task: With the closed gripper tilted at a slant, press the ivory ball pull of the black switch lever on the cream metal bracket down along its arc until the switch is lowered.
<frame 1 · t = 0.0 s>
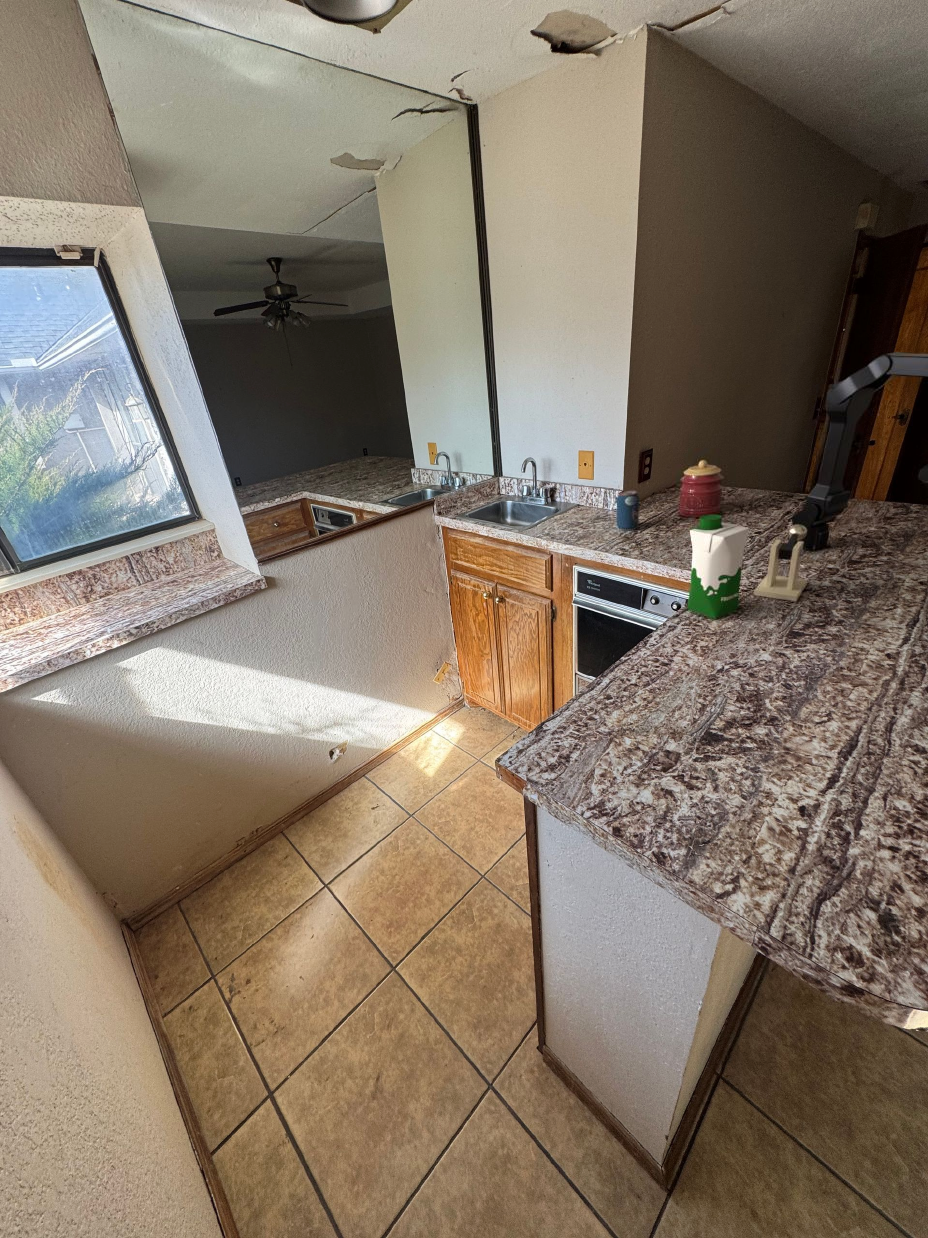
soda can: (627, 528, 162), on the countertop
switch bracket: (780, 589, 107), on the countertop
kitchen canister: (699, 513, 166), on the countertop
switch lever: (792, 541, 105), point 10 cm above the countertop, hinge at 10.0°
milk carton: (712, 610, 103), on the countertop
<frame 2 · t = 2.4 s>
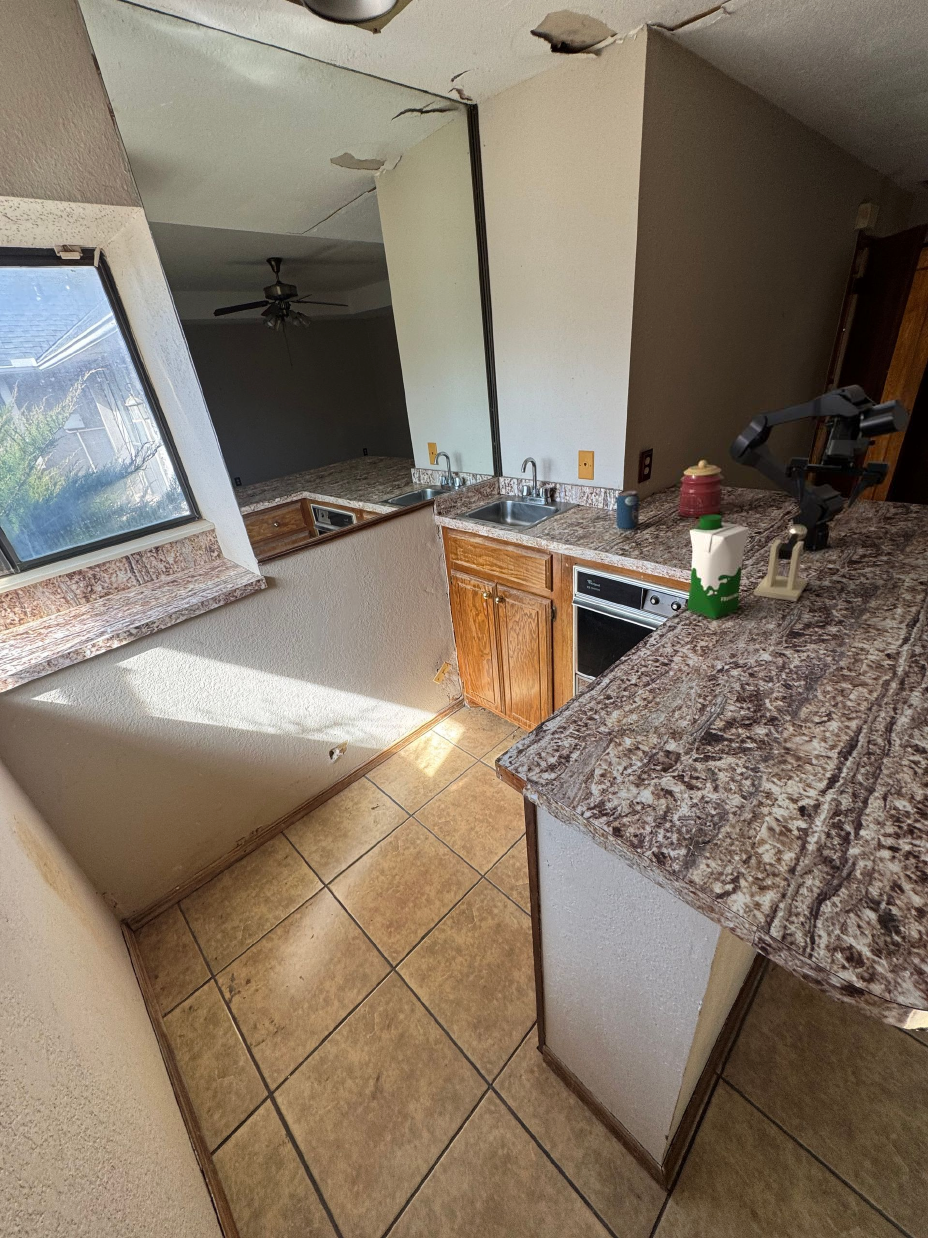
hand: (824, 504, 109), 15 cm above the countertop, tool tilted 40°, fingers open, 9 cm apart
nothing on the countertop moved.
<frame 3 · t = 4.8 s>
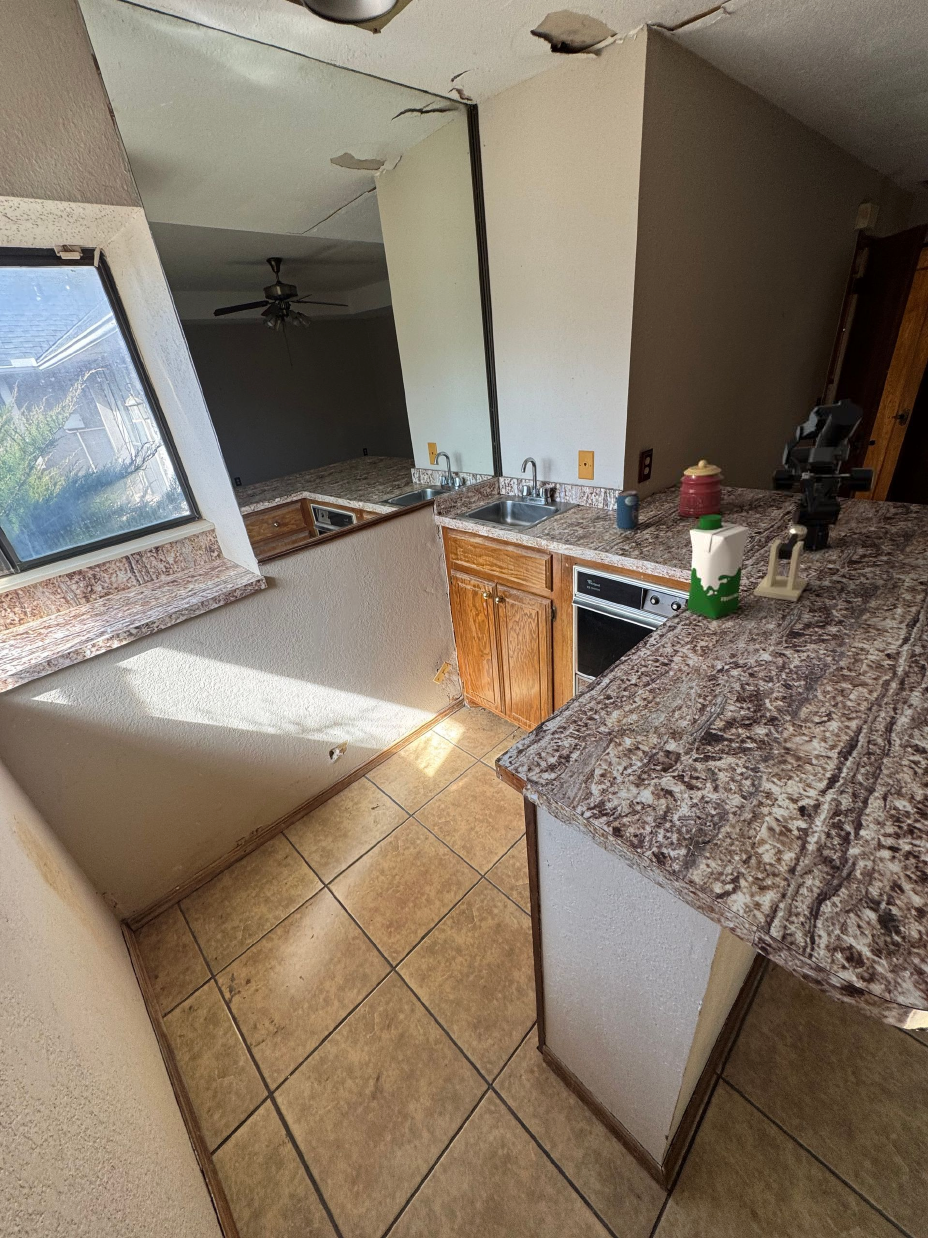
hand: (811, 512, 109), 14 cm above the countertop, tool tilted 45°, fingers closed
nothing on the countertop moved.
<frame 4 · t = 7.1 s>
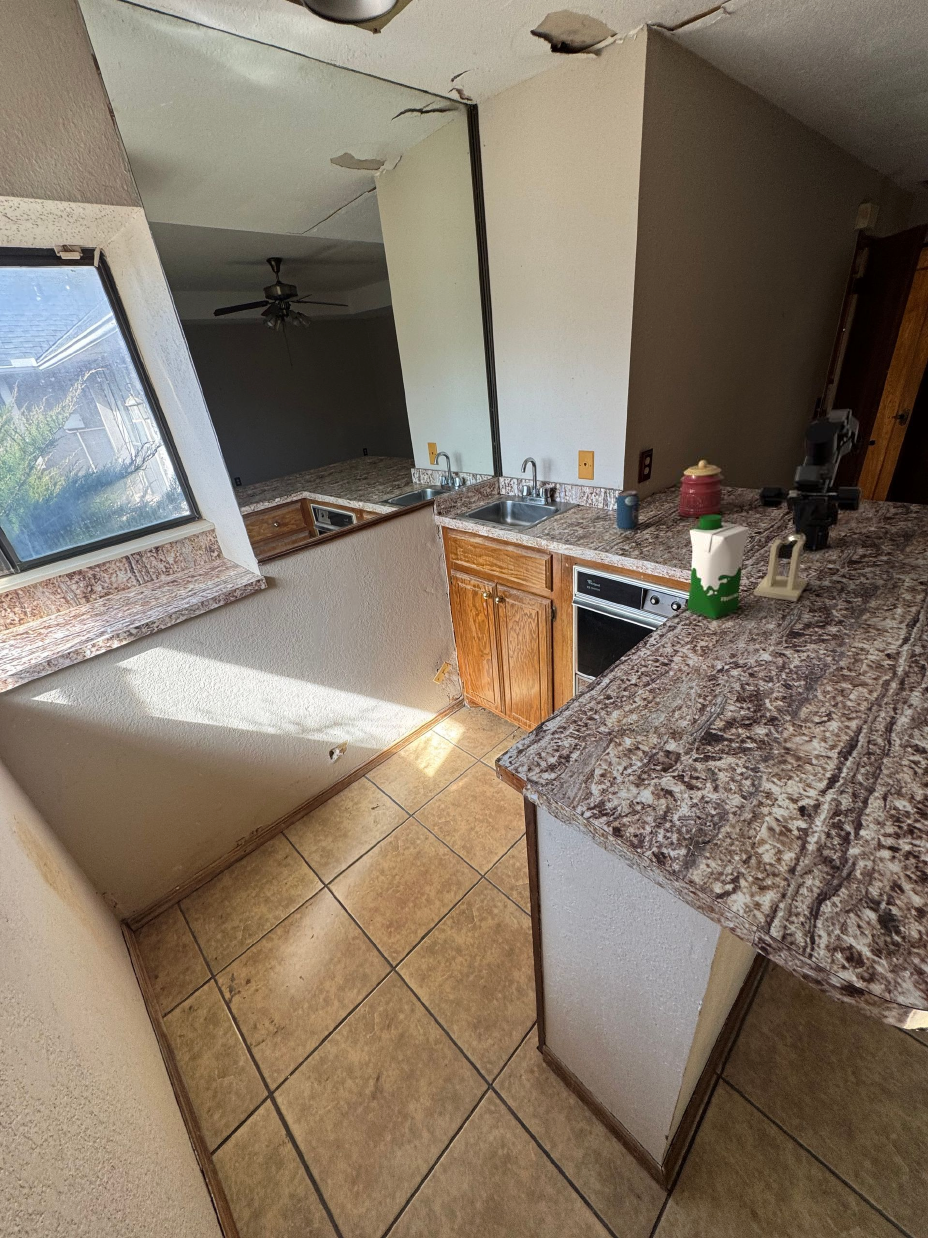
hand: (797, 531, 108), 11 cm above the countertop, tool tilted 45°, fingers closed
switch lever: (791, 545, 106), point 9 cm above the countertop, hinge at -1.5°, touching gripper
everything else where it was.
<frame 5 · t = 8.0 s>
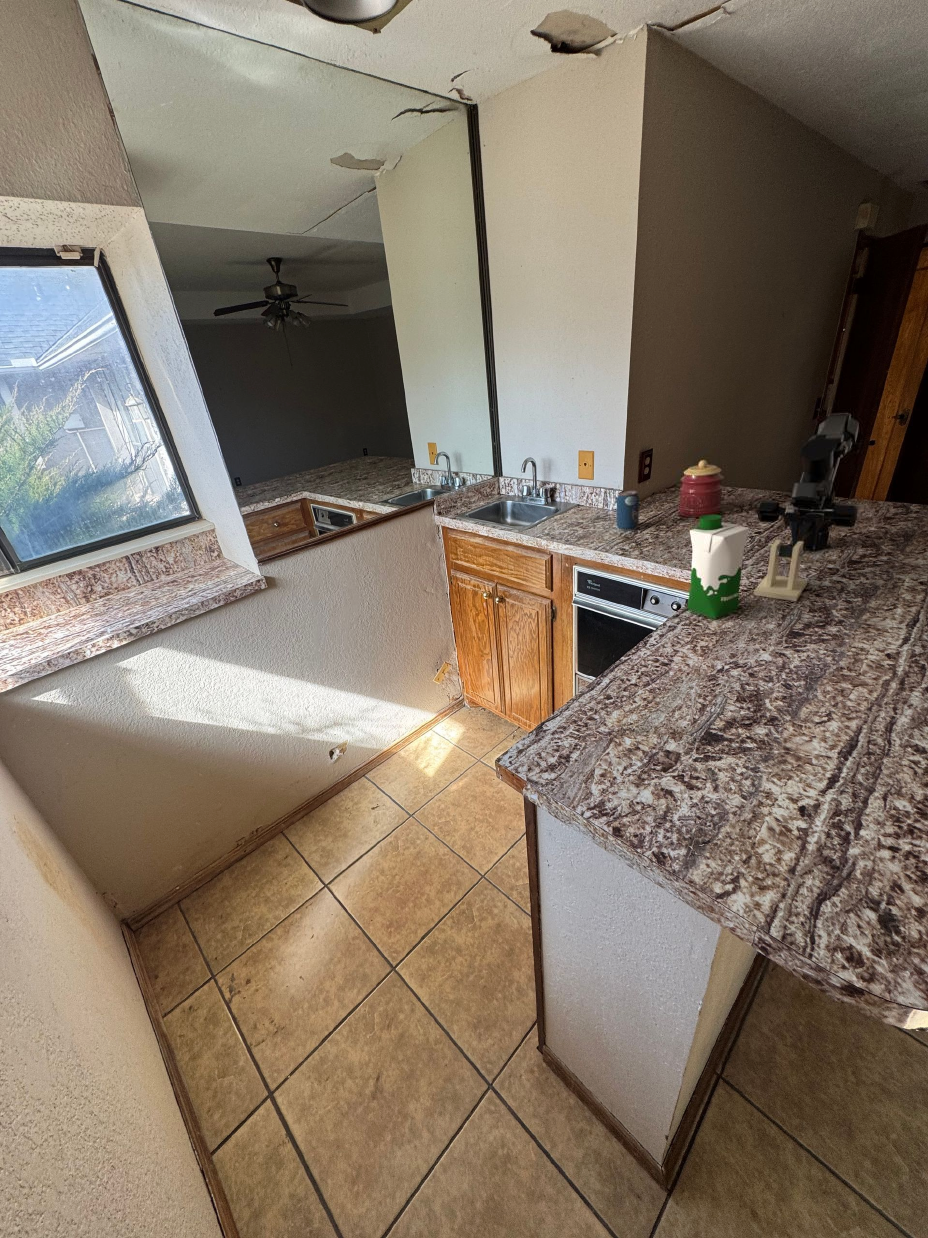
hand: (794, 546, 109), 7 cm above the countertop, tool tilted 45°, fingers closed, pressing on switch lever
switch lever: (789, 553, 106), point 7 cm above the countertop, hinge at -24.1°, touching gripper
everything else where it was.
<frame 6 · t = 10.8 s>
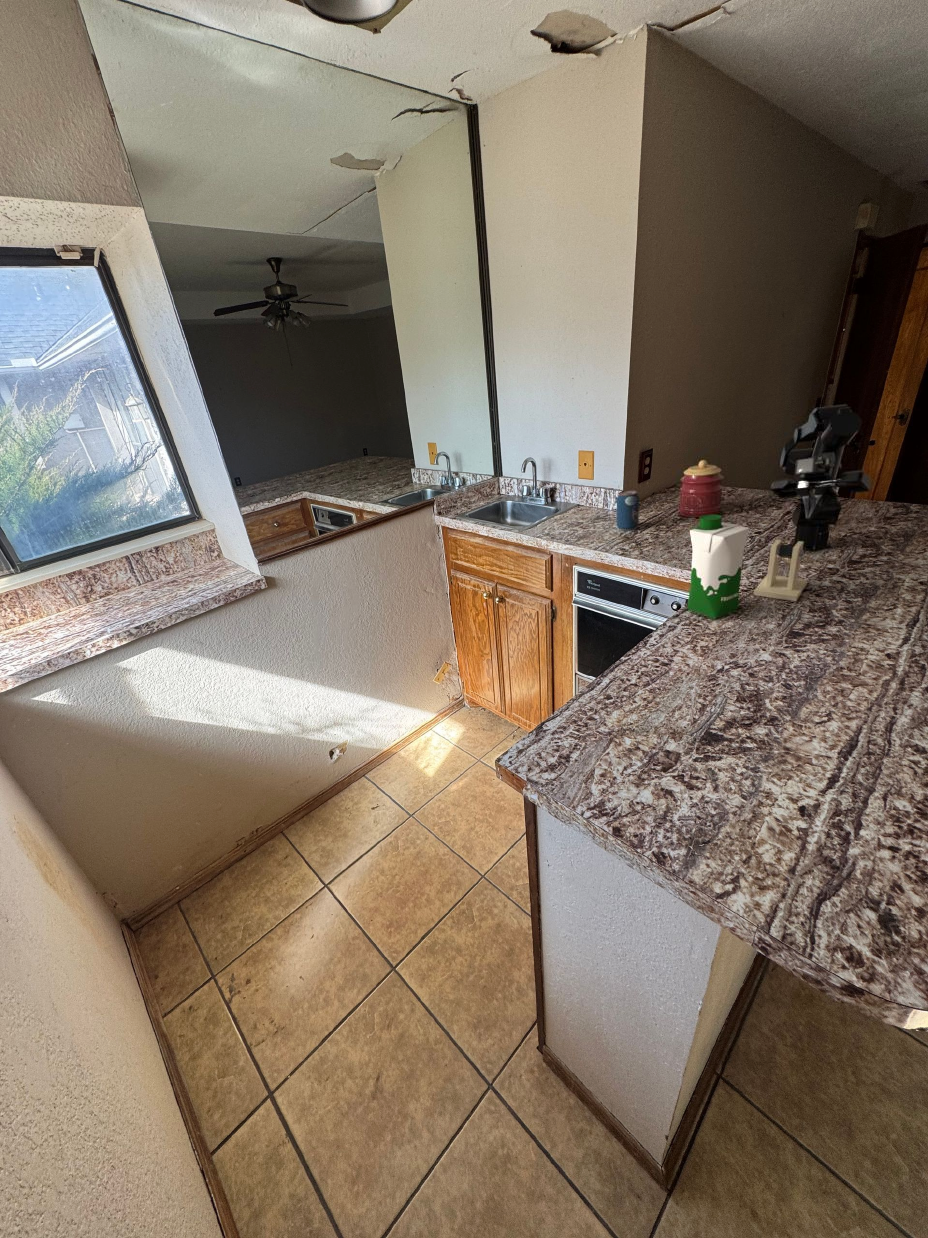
hand: (808, 519, 113), 11 cm above the countertop, tool tilted 35°, fingers closed
switch lever: (789, 554, 106), point 7 cm above the countertop, hinge at -27.8°
everything else where it was.
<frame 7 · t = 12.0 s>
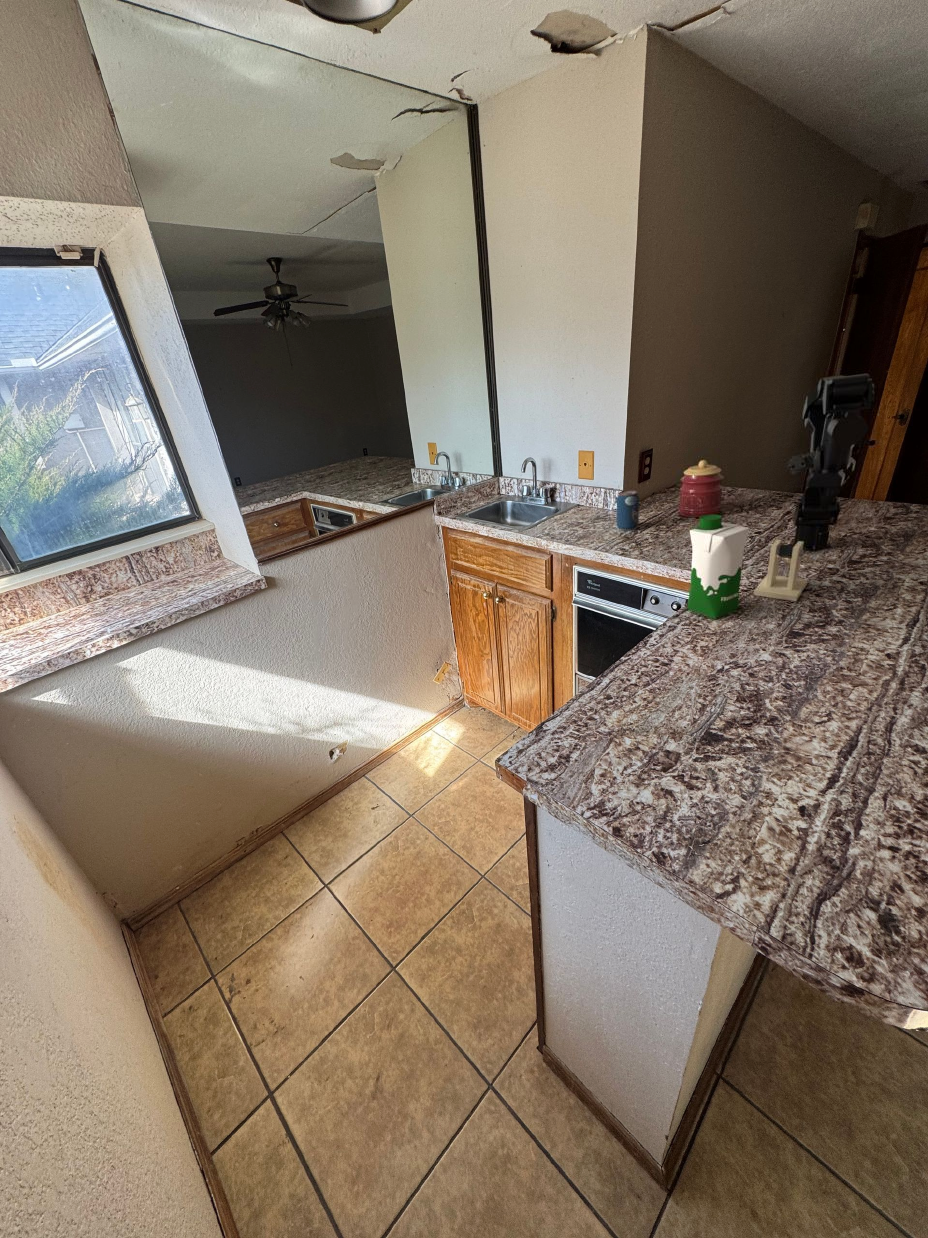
hand: (824, 509, 111), 13 cm above the countertop, tool pointing down, fingers closed
nothing on the countertop moved.
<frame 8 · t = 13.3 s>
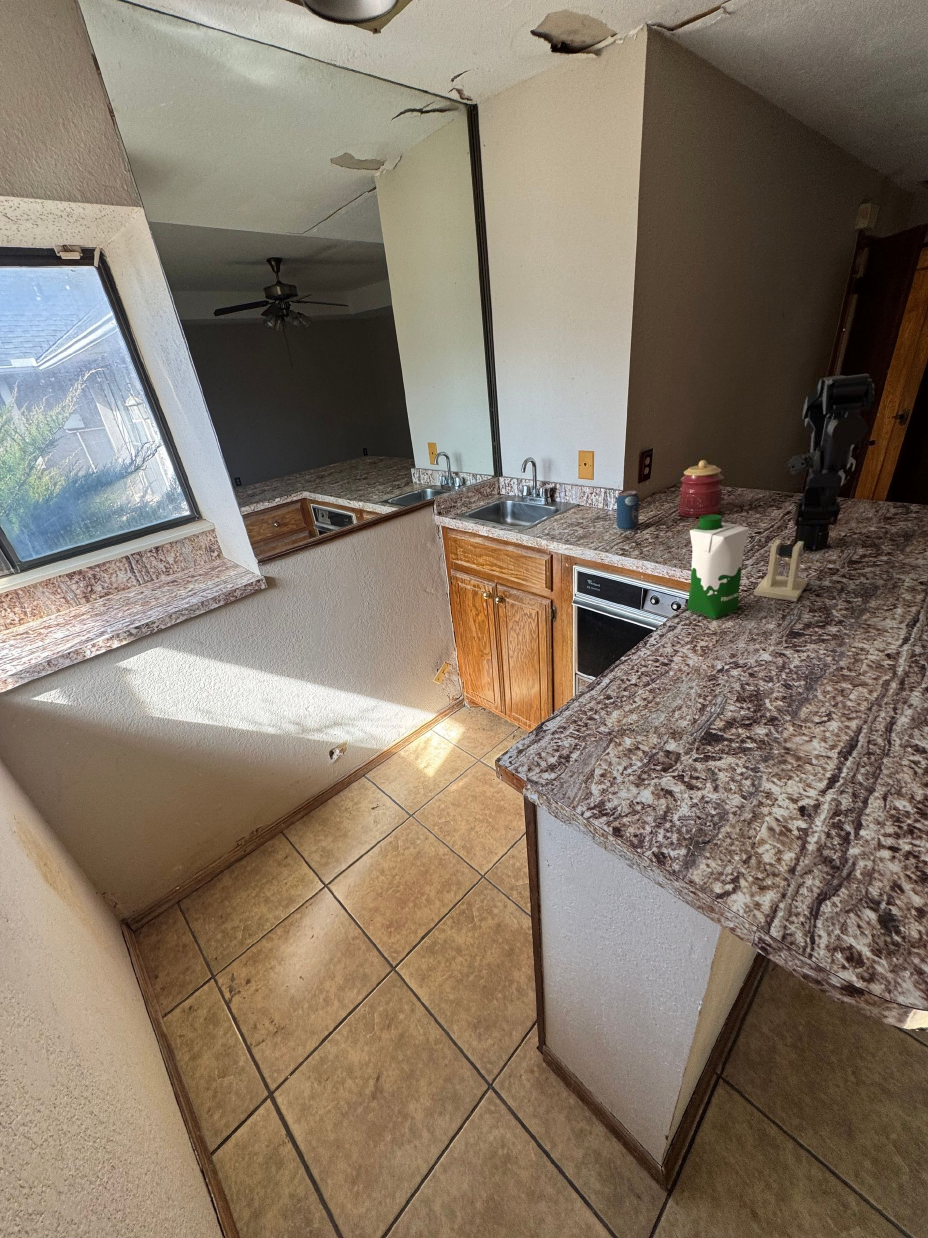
hand: (824, 509, 111), 13 cm above the countertop, tool pointing down, fingers closed
nothing on the countertop moved.
at the end: switch lever at -28° (first picture: +10°); switch lever reached -28° during the clip, -28° at the end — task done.
